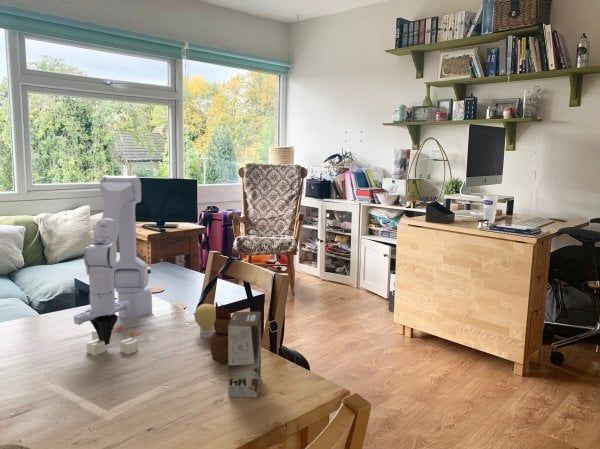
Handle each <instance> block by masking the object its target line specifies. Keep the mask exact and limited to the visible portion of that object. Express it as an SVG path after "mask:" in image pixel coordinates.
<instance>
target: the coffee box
mask: <svg viewBox="0 0 600 449" xmlns="http://www.w3.org/2000/svg"><path fill="white" fill-rule="evenodd" d="M261 350H262V312H261V311H234V312H233V313H232V314H231V320H230V322H229V324H228V363H227V370H228V372H227V375H228V376H227V380H228V381H227V384H228V385H227V386H228V387H227V389H228V390H227V395H228V397H236V398H237V397H238V398H257V397H258V392H259V387H260V383H261V379H262V373H261V372H262V351H261Z"/></svg>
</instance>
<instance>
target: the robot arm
mask: <svg viewBox="0 0 600 449" xmlns="http://www.w3.org/2000/svg"><path fill="white" fill-rule="evenodd" d="M99 184H100V185H99V186H100V187H99V188H100V189H99V190H100V193H101V195H102V198H103V200H104V204H103V212H102V219H99V220H98V221H96V222H95V223H96V224H95V227H94V230H93V231H94V232H93V235H92V239H91V241H90V244H89V245H88V246H86V247H85V249H84V254H83V262H84V265H85V268H86V269H85V271H86V275H88V283H89V284H88V285H89V302H90V308H88V309H86V310H85V311H82V312H81V313H78V314H75V315H73V323H74V324H76V325H79V326H80V325H83V323H86V322H90V324H92V326H93V327H94V330H96V332H97V334H98V337H99V340H102V341H104V342H105V346H107V345H110V342H111V338H112V333H113V331H114V330H113V329H114V327H115V325H116V323H117V321H118V320H119V318H122V319H137V318H140V317H142V316H144V315H148V316H155V314H154V313H153V295H152V291H151V289H150V288H149V287H148V285H149V284H148V283H149V272H148V266H147V263H146V261H144V260H143V259H141V258H140V257H138V256H137V255H138V252H137V230H136V229H137V228H136V204H138V203H141V202H142V182H141V180H140V177H139V176H138V175H106V174H104V175H103V176H102V177H101V178H100V183H99ZM117 241H119V243H118V244H119V259H117V251H118V247H117ZM116 293H117V302H116V296H115V295H116ZM116 313H118V315H117V314H116Z"/></svg>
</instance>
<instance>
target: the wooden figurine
mask: <svg viewBox="0 0 600 449" xmlns="http://www.w3.org/2000/svg"><path fill="white" fill-rule="evenodd" d="M214 304H215V305H214V306H215V307H216V319H215V321H214V326H213V328H214V332H213V334H212V335H211V337H210V338H209V339H210V340H209V348H210V353H211V356H212V358H213V360H214V361H215V362H216V363H219V364H228V324H229V322H230V320H231V318H232V313H231V311H229V312H228V309H227V308H225V310H224V304H221V307H220V309H219V305H218V301H215V303H214Z"/></svg>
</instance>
